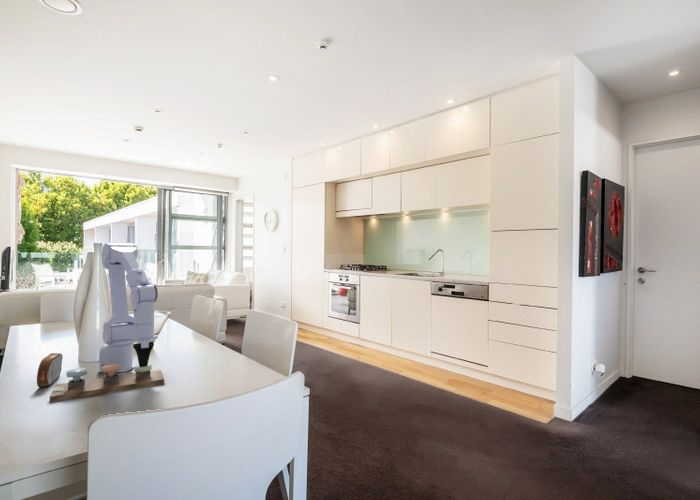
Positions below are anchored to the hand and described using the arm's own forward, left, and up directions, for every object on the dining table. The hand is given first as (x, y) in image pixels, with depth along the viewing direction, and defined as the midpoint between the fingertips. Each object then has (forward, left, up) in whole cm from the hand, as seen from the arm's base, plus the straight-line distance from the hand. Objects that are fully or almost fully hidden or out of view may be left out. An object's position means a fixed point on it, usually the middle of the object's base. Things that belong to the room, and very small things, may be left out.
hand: (143, 366), depth 118 cm
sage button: (0, 0, -3) cm, 3 cm away
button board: (-7, -5, -5) cm, 10 cm away
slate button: (-14, -9, -2) cm, 17 cm away
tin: (-29, -1, -5) cm, 29 cm away
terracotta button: (-7, -5, -2) cm, 9 cm away
